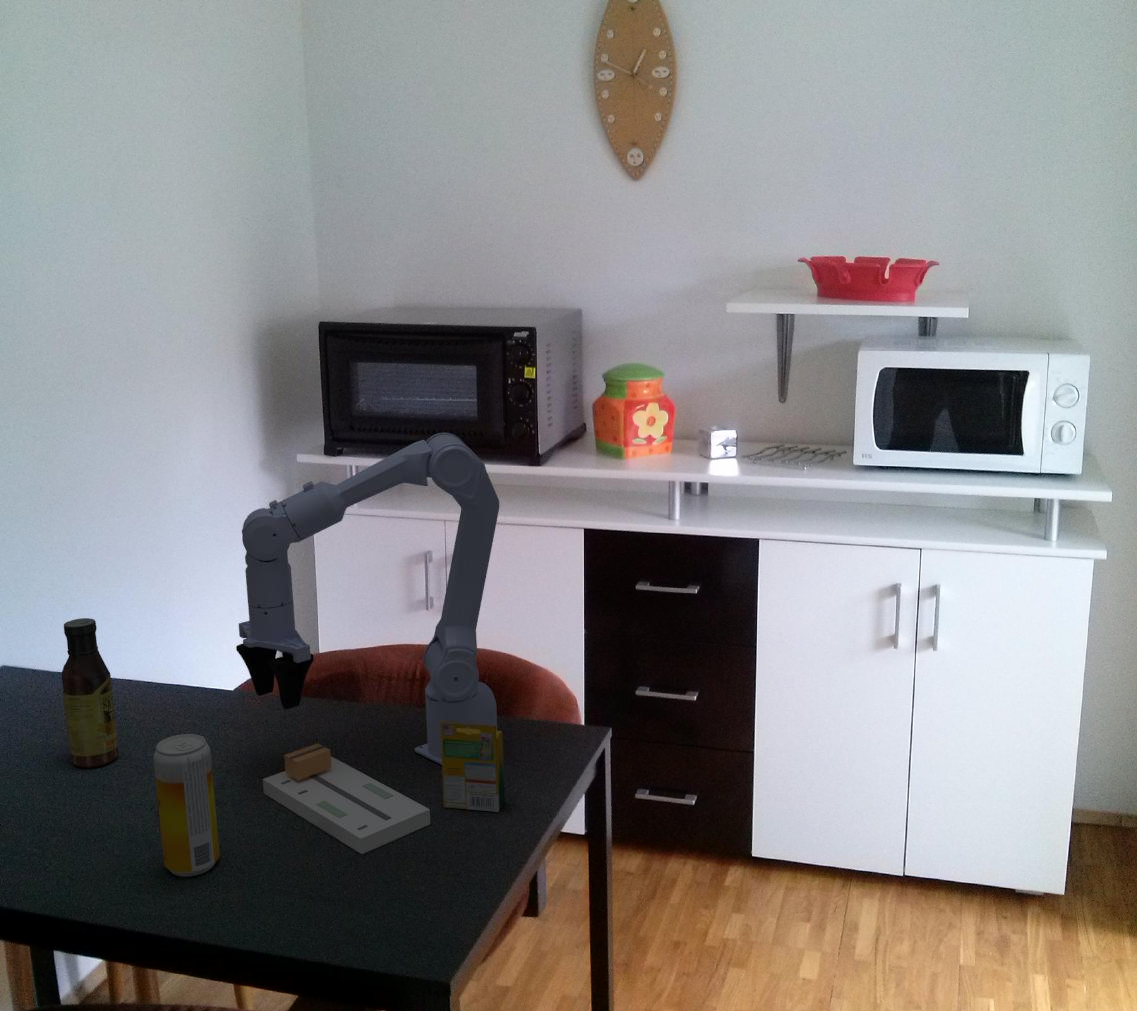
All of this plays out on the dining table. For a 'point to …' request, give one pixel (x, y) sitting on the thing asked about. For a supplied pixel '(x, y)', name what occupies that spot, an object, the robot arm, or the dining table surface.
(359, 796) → the fader console
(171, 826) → the beer can
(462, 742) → the crayon box
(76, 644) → the sauce bottle
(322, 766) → the fader knob
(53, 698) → the dining table surface
